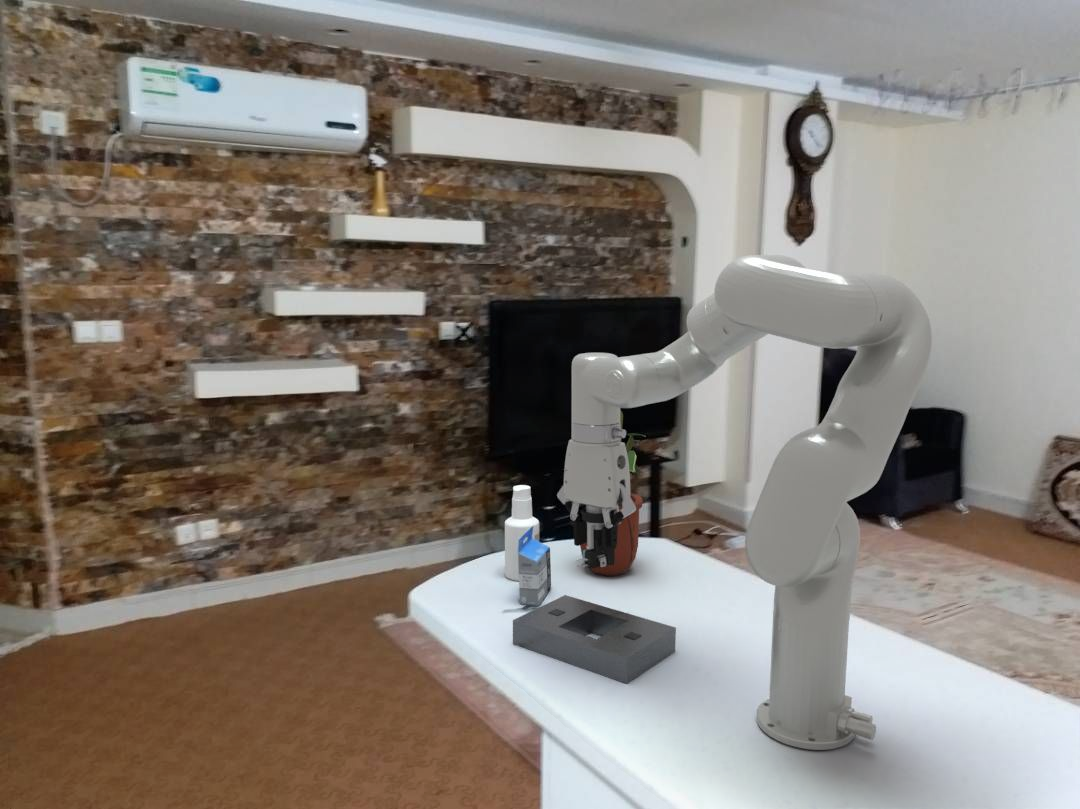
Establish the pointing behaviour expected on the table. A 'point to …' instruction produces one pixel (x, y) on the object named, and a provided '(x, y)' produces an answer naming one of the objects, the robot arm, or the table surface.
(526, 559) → the label tape box
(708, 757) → the table surface
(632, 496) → the potted plant
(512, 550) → the spray bottle
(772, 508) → the robot arm
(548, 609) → the gray pocketed block
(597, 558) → the push button
